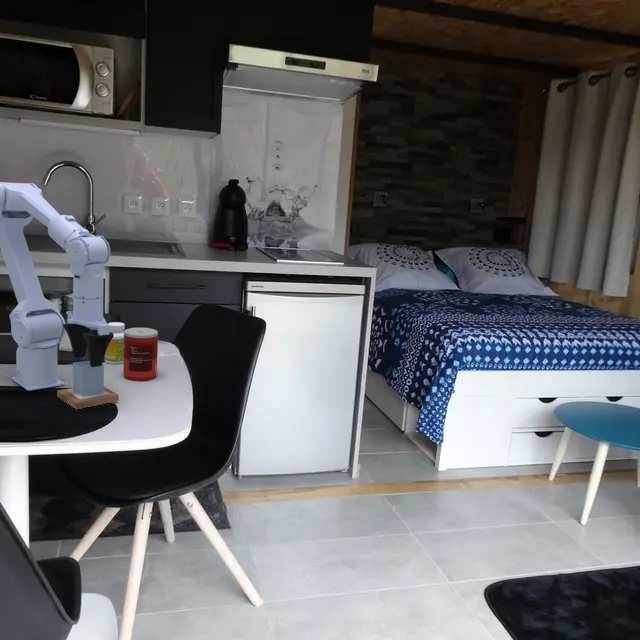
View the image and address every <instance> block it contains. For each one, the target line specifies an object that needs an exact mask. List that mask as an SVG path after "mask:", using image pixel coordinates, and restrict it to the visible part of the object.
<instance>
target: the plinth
mask: <svg viewBox="0 0 640 640" xmlns="http://www.w3.org/2000/svg"><path fill="white" fill-rule="evenodd" d="M56 391H57V393H56V394H57V397H59V398H60V399H61V400H60V399H59V398H58V399H59V400H60V401H62V400H63V401H64V402H63V401H62V402H63V403H65V402H66V403H67V404H66V403H65V404H66V405H68V404H69V405H70V406H72V407H73V408H75V409H76V410H75V409H74V410H75V411H78V410H77V409H82V408H86V407H92V406H97V405H102V404H106V403H112V404H114V403H113V402H117V401H120V400H119V398H120V397H119V394H118V393H116V392H114V390H113V391H112V390H111V389H110V388H108V387H106V386H104V393H101V394H95V395H90V396H84V397H82V396H81V395H79V394H78V393H76V392H74V391H73V387H69V388H63V389H58V390H56ZM117 403H118V402H117ZM69 405H68V406H69ZM70 406H69V407H70ZM102 406H103V405H102ZM72 407H71V408H72ZM97 407H98V406H97ZM73 408H72V409H73ZM92 408H93V407H92ZM82 410H83V409H82Z"/></svg>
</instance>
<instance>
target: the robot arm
mask: <svg viewBox="0 0 640 640" xmlns="http://www.w3.org/2000/svg"><path fill="white" fill-rule="evenodd" d="M43 196H44V195H43V190H42V189H41V188H39V187H38V186H37V185H36V184H35V183H32V182H27V183H24V182H23V183H22V182H19V183H18V182H6V181H5V182H4V181H3V182H1V181H0V250H1V254H2V258H3V261H4V263H5V267H6V270H7V273H8V276H9V279H10V283H11V285H12V288H13V292H14V296H15V298H16V300H17V303H18V304H17V305H16V306H15V307H14V309H13V310H12V311H11V312H10V313H9V316H8V317H9V319H10V326H11V327H10V328H11V329H10V332H11V336H12V338H13V340H14V341H15V342H16V344H17V346H18V347H17V349H16V351H15V352H16V376H13V377H12V378H11V379H12V380H13V382H15V383H16V384H18V385H20V387H22V388H24V389H25V390H27V391H36V390H41V389H47V388H53V387H59V386H65V385H66V383H65V381H63V380H61V379H60V378H58V345H60V342H61V340H62V338H63V336H64V335H65V332H67V334H68V336H69V339H70V342H71V346H72V350H73V351H72V355H73V357H74V358H75V359H76V358H77V359H78V358H85V357H86V355H87V351H88V361H90V365H91V367H98V366H102V364H104V361H105V353H106V350H107V347H108V345H109V343H110V341H111V340H112V338H113V337H114V334H113V333H111V332H109V328H110V325H108V323H107V321H106V319H105V318H104V276H105V275H104V271H105V270H104V269H105V267H104V265H105V264H107V263H108V261H109V260H110V257H111V247H110V244H109V242H108V241H107V239H106V238H105V237H104V236H103V235H94V234H91V233H90V231H89V230H88V229H87V228H84V227H83V226H82V225H81V224H79V223H78V222H77V221H76V218H75V217H74V215H67V214H60V213H59V212H58V211H57V210H56V209H55V208H54V207H53V206H52V205H51V204H50V203H49V202H48V200H46V199H45V197H43ZM34 218H35V219H36V220H37V221H38V222H39V223H42V225H44V226H45V227H47V234H48V236H49V237H50V239H52V240H53V241H54V242H56V243H57V244H58V246H60V247H61V248H62V249H63V250H64V251H65V253H66V258H67V261H68V263H69V267H70V268H69V269H70V272H71V274H72V277H73V278H72V286H73V287H72V288H73V289H72V306H73V307H72V310H68V311H67V312H68V315H67V320H65V319H64V317H63V315H62V314H61V312H60V311H59V309H58V305H57V304H56V303H54V302H52V301H50V300H49V299H47V298H45V296H44V293H43V292H44V291H43V290H42V287H41V286H42V285H41V283H40V279H39V278H38V275H37V271H36V268H35V265H34V262H33V259H32V256H31V253H30V250H29V247H28V243H27V240H26V237H25V234H24V228H25V226H28V225H30V223H31V221H32V219H34ZM67 322H68V324H67ZM91 330H92V332H91Z"/></svg>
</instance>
